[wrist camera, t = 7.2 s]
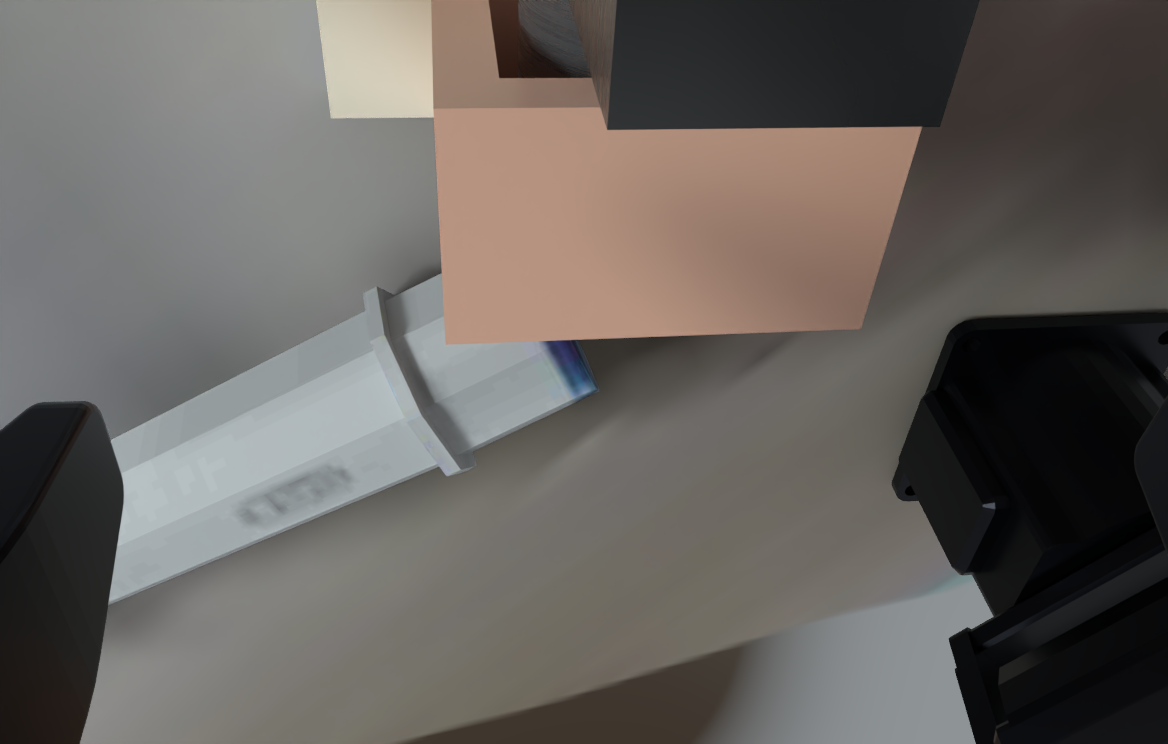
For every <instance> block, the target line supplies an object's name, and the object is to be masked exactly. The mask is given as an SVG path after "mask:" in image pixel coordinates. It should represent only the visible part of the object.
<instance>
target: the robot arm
mask: <svg viewBox="0 0 1168 744" xmlns="http://www.w3.org/2000/svg"><path fill="white" fill-rule="evenodd" d="M970 338H972V339H971V340H970V341H968V342H965V341H967V340H968V339H970ZM964 342H965V343H964ZM1167 367H1168V313H1151V314H1124V315H1097V316H1071V317H1044V318H1017V319H991V320H970V321H965V322H962V323H960V324H958V325H956V326H955V327H954V328H953V329H952V330H951V331H950V332H949V334H948V335H947V338H946V340H945V343H944V346H943V348H942V351H941V354H940V356H939V359H938V361H937V364H936V367H935V369H934V372H933V375H932V377H931V380H930V383H929V385H928V388H927V390H926V393H925V395H924V396H923V397H922V399H921V401H920V403H919V406H918V409H917V411H916V414H915V417H914V419H913V422H912V425H911V427H910V430H909V433H908V435H907V438H906V441H905V443H904V446H903V448H902V451H901V454H900V456H899V464H898V467H897V470H896V472H895V475H894V478H893V480H892V487H893V489H894V491H895V493H896V495H897V497H898V498H899V499H900V500H902V501H919V502H920V504H921V506H922V508H923V510H924V512H925V514H926V516H927V518H928V520H929V522H930V524H931V526H932V528H933V530H934V532H935V534H936V536H937V538H938V540H939V542H940V544H941V546H942V548H943V550H944V552H945V554H946V556H947V558H948V560H949V562H950V564H951V566H952V567H953V568H954V569H955V570H956V571H957V572H958V573H959V574H960V575H972V576H973V578H974V579H975V581H976V583H977V585H978V587H979V589H980V591H981V593H982V595H983V597H984V599H985V601H986V603H987V604H988V606H989V608H990V610H991V612H992V614H993V616H994V617H993V618H991V619H989V620H987V621H985V622H984V623H982V624H980V625H979V626H977V627H975V628H973V629H970V628H965V629H964V630H962V631H961V632H958V633H957V634H955V635H953V636H951V637H950V638H949V642H950V646H951V649H952V652H953V656H954V659H955V663H956V667H957V668H956V669H955V673H956V676H957V680H958V683H959V687H960V690H961V694H962V697H963V700H964V704H965V707H966V710H967V714H968V717H969V721H970V725H971V728H972V732H973V735H974V738H975V742H976V744H1168V380H1167V379H1166V377H1165V376H1164V375H1163V373H1164V372H1165V370H1166V368H1167ZM123 505H124V485H123V478H122V474H121V471H120V468H119V465H118V462H117V459H116V456H115V453H114V449H113V446H112V443H111V440H110V437H109V434H108V431H107V428H106V425H105V422H104V419H103V416H102V414H101V412H100V410H99V409H98V408H97V406H96V405H94V404H92V403H90V402H86V401H73V402H42V403H37V404H35V405H32V406H31V407H29V408H28V409H26V410H25V411H24V412H22V413H21V414H20V415H19V416H17V417H16V418H15V419H14V420H13V421H11V422H10V423H9V424H8V425H6V426H5V427H4V428H3V429H1V430H0V744H80V740H81V737H82V733H83V730H84V726H85V723H86V719H87V716H88V712H89V708H90V704H91V700H92V696H93V692H94V688H95V683H96V678H97V672H98V666H99V661H100V655H101V649H102V642H103V636H104V629H105V623H106V616H107V610H108V603H109V597H110V590H111V584H112V577H113V571H114V564H115V558H116V551H117V545H118V538H119V532H120V525H121V519H122V512H123Z"/></svg>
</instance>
